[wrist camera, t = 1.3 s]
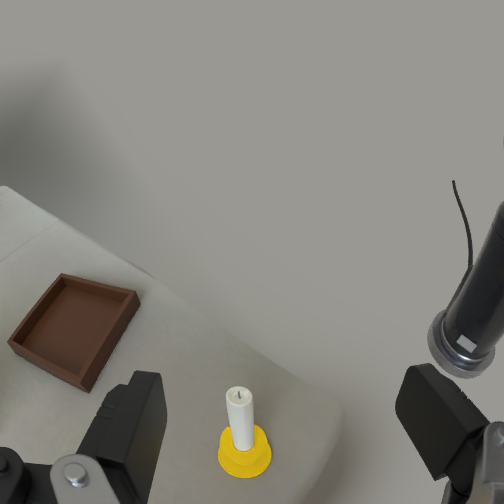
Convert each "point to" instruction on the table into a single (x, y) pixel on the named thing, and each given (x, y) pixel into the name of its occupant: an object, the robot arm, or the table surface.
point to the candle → (243, 438)
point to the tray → (75, 328)
